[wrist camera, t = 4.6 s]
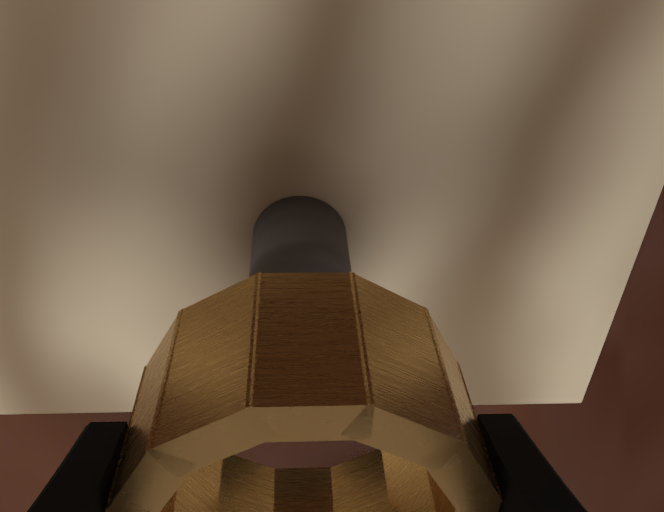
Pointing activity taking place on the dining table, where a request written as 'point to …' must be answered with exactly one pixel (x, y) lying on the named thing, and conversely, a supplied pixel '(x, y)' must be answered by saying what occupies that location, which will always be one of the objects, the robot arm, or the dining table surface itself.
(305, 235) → the piston block
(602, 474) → the dining table surface
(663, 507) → the dining table surface
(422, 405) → the wooden ring
